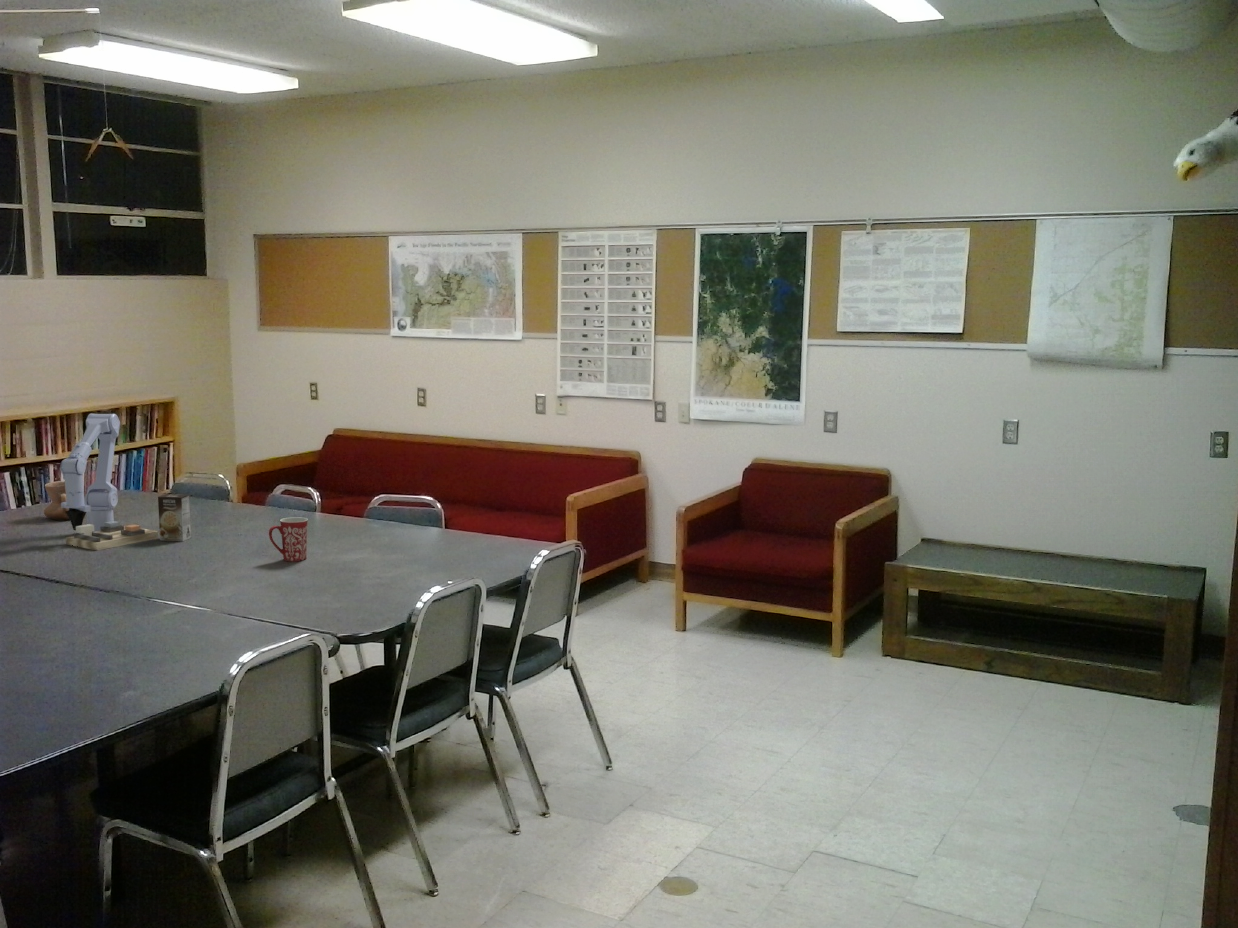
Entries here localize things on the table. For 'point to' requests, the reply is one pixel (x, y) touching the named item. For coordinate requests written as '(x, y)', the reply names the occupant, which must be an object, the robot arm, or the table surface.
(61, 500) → the ceramic jug
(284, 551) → the mug
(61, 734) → the table surface
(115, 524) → the grey button
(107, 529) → the control panel
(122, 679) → the table surface
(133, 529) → the terracotta button
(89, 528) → the slider knob
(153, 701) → the table surface
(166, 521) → the coffee box
